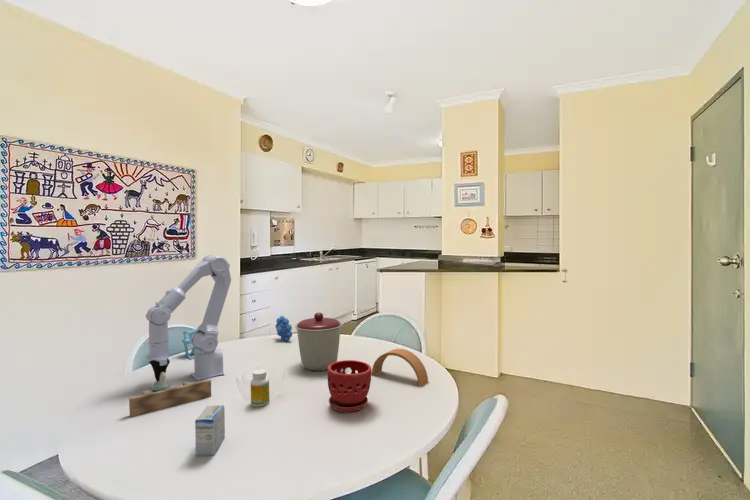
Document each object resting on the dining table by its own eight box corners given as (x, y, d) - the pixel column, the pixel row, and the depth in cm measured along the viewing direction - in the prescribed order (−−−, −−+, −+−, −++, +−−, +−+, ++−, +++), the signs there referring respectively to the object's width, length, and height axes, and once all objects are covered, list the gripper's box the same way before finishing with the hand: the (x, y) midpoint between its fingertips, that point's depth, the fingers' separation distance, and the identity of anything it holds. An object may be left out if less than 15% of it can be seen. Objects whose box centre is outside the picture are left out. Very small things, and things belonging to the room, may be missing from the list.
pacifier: (152, 397, 123) (172, 391, 127) (150, 378, 123) (171, 373, 127) (145, 391, 128) (165, 385, 132) (144, 372, 128) (164, 367, 132)
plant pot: (337, 419, 107) (337, 376, 107) (321, 401, 119) (321, 363, 118) (379, 409, 113) (379, 369, 113) (360, 393, 125) (359, 356, 124)
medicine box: (207, 439, 98) (206, 405, 97) (225, 438, 98) (224, 404, 98) (195, 456, 90) (194, 420, 89) (215, 455, 90) (214, 419, 90)
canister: (286, 371, 146) (285, 315, 145) (311, 357, 163) (310, 307, 162) (328, 377, 139) (327, 319, 138) (350, 361, 156) (349, 309, 155)
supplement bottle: (264, 407, 115) (263, 375, 115) (247, 406, 116) (246, 374, 116) (272, 400, 120) (271, 369, 120) (256, 398, 121) (255, 368, 121)
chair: (197, 351, 172) (196, 325, 171) (207, 355, 167) (206, 327, 166) (180, 356, 165) (179, 328, 165) (190, 359, 161) (189, 331, 160)
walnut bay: (202, 386, 132) (201, 371, 132) (211, 396, 124) (210, 380, 123) (125, 404, 118) (125, 388, 118) (130, 417, 110) (129, 399, 110)
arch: (380, 371, 146) (380, 344, 145) (428, 382, 134) (428, 353, 134) (371, 375, 141) (371, 348, 140) (420, 387, 130) (420, 358, 129)
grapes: (269, 340, 189) (268, 316, 188) (280, 337, 194) (280, 314, 193) (284, 344, 181) (283, 319, 181) (295, 341, 186) (295, 316, 186)
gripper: (141, 339, 134) (143, 377, 135) (149, 348, 123) (150, 390, 124) (164, 335, 139) (165, 373, 139) (173, 344, 128) (174, 385, 128)
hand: (160, 381), depth 132 cm, fingers closed
